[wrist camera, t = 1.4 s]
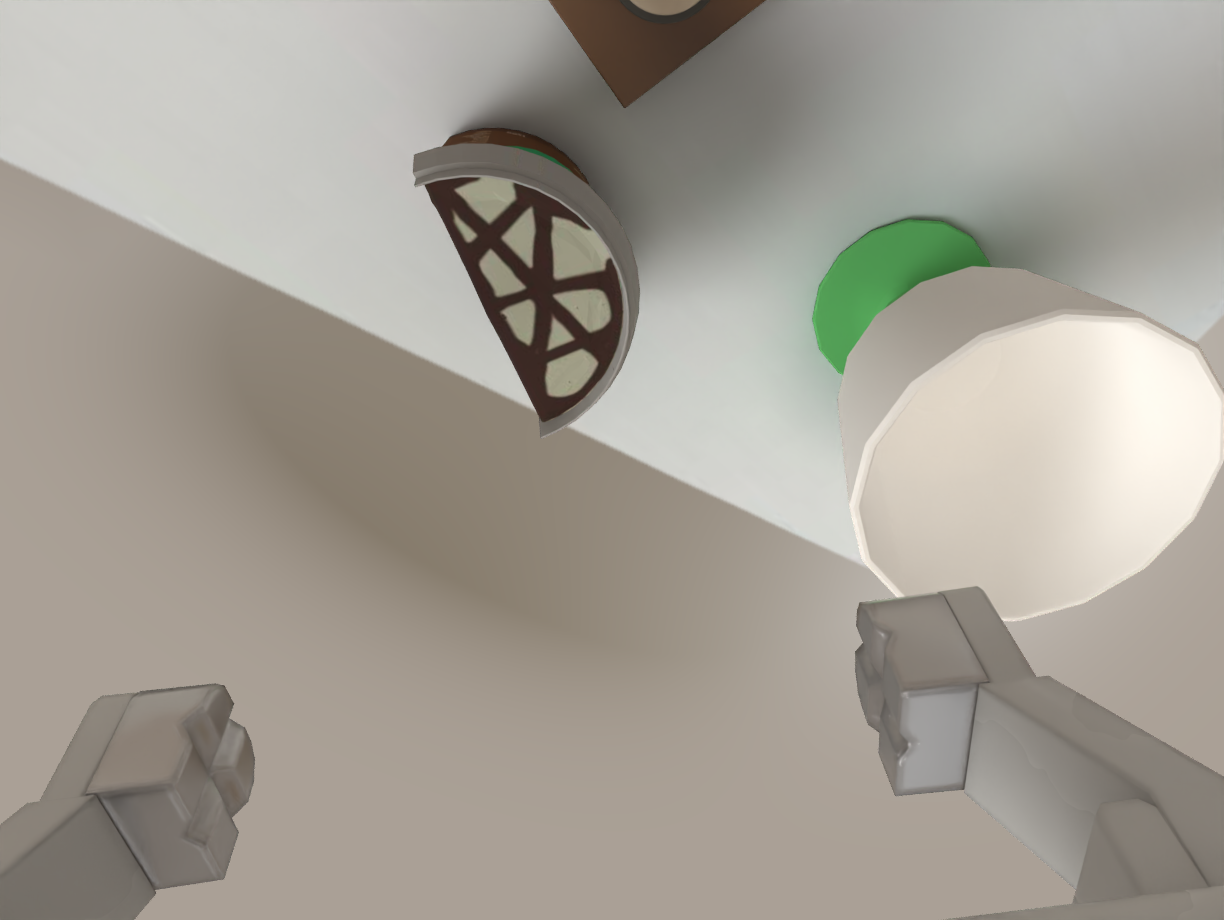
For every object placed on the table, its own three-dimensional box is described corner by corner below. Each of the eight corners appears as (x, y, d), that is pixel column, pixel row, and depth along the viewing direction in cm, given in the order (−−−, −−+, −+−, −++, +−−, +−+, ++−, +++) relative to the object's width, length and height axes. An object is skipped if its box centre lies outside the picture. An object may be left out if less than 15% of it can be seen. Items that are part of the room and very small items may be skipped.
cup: (1095, 280, 48) (1306, 448, 35) (894, 466, 53) (1010, 673, 40) (911, 106, 43) (1077, 226, 29) (709, 332, 48) (772, 519, 35)
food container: (661, 299, 47) (686, 399, 39) (545, 342, 48) (545, 449, 40) (566, 48, 41) (572, 103, 32) (434, 103, 42) (407, 170, 33)
